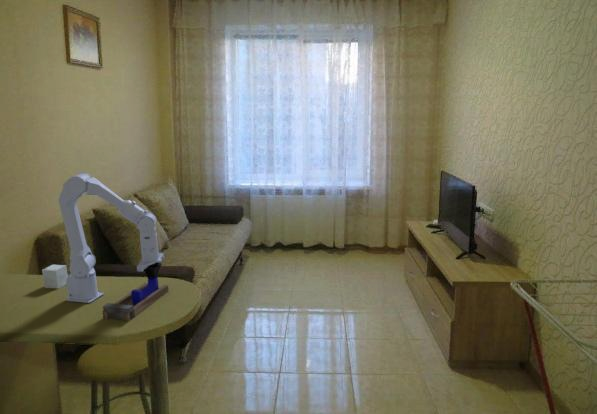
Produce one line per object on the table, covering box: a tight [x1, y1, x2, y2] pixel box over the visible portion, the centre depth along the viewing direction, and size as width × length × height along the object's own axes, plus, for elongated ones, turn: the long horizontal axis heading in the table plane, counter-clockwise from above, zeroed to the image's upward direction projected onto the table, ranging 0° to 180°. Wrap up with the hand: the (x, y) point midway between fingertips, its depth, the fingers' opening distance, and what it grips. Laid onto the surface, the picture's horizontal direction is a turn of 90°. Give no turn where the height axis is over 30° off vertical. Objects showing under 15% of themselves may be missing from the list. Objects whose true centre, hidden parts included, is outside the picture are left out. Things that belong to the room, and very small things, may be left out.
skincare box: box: [41, 264, 69, 290], centre depth 176 cm, size 6×6×7 cm
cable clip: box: [130, 278, 160, 306], centre depth 160 cm, size 12×4×6 cm, turn 167°
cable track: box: [101, 282, 169, 322], centre depth 158 cm, size 9×24×4 cm, turn 165°
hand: (153, 283), depth 167 cm, fingers closed
